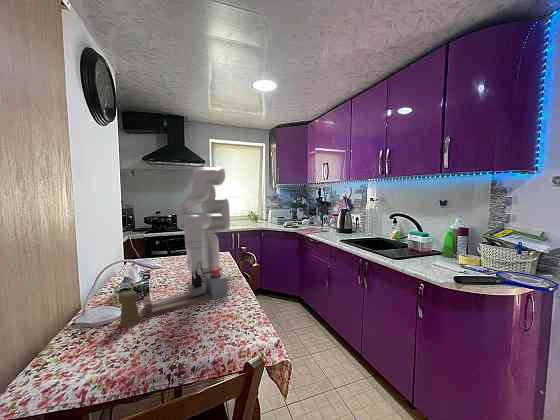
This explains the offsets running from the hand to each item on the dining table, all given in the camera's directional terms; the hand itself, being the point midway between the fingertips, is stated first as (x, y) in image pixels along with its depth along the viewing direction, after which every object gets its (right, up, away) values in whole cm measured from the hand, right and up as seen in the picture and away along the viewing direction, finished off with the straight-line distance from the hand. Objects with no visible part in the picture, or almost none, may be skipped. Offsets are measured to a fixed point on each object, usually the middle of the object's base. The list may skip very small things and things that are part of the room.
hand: (196, 285), depth 100 cm
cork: (-17, -8, -17) cm, 26 cm away
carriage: (0, -4, 0) cm, 4 cm away
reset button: (+7, +2, +4) cm, 8 cm away
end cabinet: (+7, -5, +5) cm, 10 cm away
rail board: (-6, -6, -4) cm, 10 cm away
